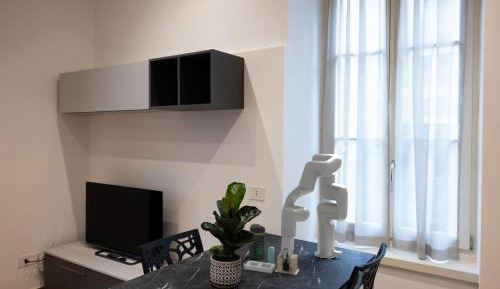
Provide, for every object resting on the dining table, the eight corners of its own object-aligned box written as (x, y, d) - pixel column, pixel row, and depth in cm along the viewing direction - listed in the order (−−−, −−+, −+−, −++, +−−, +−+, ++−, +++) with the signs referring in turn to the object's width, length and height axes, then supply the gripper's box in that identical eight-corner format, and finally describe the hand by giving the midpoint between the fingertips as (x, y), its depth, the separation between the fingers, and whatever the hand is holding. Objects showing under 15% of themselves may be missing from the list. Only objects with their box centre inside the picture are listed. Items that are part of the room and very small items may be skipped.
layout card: (299, 270, 178) (299, 261, 178) (296, 275, 171) (296, 266, 171) (278, 267, 182) (278, 258, 182) (274, 272, 174) (275, 263, 174)
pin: (274, 263, 187) (275, 246, 187) (273, 265, 184) (273, 248, 184) (268, 262, 188) (269, 246, 188) (266, 264, 185) (267, 247, 185)
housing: (297, 269, 178) (297, 254, 178) (294, 273, 172) (295, 258, 172) (280, 266, 181) (280, 252, 181) (277, 271, 174) (277, 256, 174)
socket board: (275, 268, 179) (275, 264, 179) (271, 274, 172) (271, 269, 172) (249, 265, 184) (249, 260, 184) (244, 270, 176) (244, 265, 176)
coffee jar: (266, 260, 193) (267, 226, 193) (253, 261, 190) (254, 227, 190) (259, 254, 202) (260, 222, 202) (247, 255, 199) (248, 223, 199)
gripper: (284, 228, 186) (283, 261, 185) (277, 235, 169) (275, 272, 169) (298, 229, 183) (297, 263, 183) (292, 237, 167) (291, 275, 167)
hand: (287, 267), depth 176 cm, fingers closed on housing, 6 cm apart
